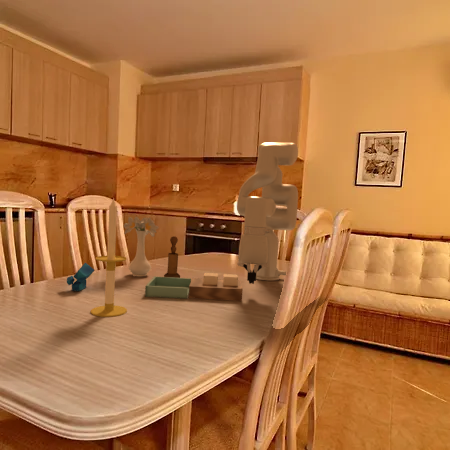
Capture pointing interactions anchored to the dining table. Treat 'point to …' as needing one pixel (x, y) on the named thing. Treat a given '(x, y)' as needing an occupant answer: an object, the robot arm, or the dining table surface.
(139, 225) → the flower vase
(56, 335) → the dining table surface
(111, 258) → the candle
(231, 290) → the board
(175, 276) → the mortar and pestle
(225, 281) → the tile
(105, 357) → the dining table surface
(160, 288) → the tray
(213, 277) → the tile
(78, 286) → the crystal
